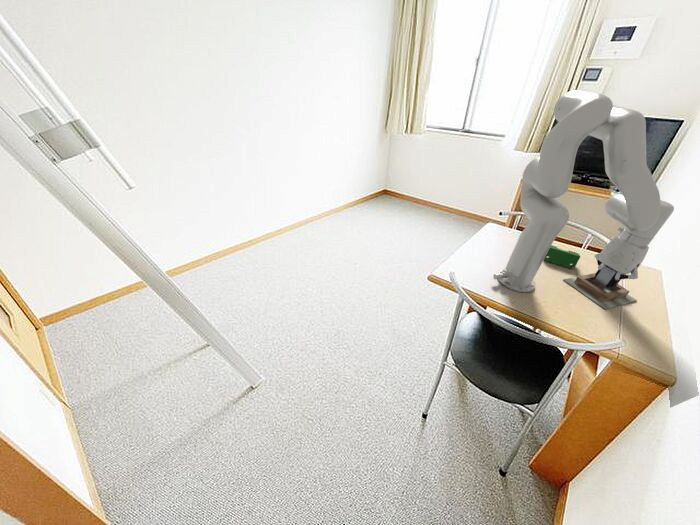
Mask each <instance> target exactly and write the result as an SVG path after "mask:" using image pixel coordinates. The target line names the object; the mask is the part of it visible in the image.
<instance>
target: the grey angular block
mask: <svg viewBox="0 0 700 525" xmlns="http://www.w3.org/2000/svg"><path fill="white" fill-rule="evenodd" d="M616 274H617V271H615V270H614V269H612V268H610V267H608V266H607V265H604V267H603V268H602V270H601V271H600V272H599V274H598V275H597V277H596V278H595V280H594V281H593V283H592V284H593V285H595V286H596V287H598V288H599V289H601V290H602V291H603V290H607V289H611V287H610V288H607V285H608V284H609V282H610V281H611V279H612V278H615V276H616Z"/></svg>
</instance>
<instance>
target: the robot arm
mask: <svg viewBox="0 0 700 525" xmlns="http://www.w3.org/2000/svg"><path fill="white" fill-rule="evenodd" d="M553 116H554V119H555V120H556V121H557V123H556V124H555V125H554V126H553V127H552V128H551V130H549V131H548V133H547V134H546V136H545V138H544V139H543V142H542V145H541V148H540V153H539V156H537V157H536V158H534V159H532V160H531V161H529V163H528V164H527V165H526V166H525V168H524V170H523V173H522V177H521V185H520V186H521V188H520V196H519V197H520V199H519V203H520V204H519V205H520V209H521V211H522V213H523V214H524V215H525V216H526V217H527V219H528V220H529V223H528V225H527V226H526V227H525V228H524V229H523V230H522V231H521V233H520V235H519V236H518V239H517V242H516V243H515V245H514V248H513V250H512V252H511V255H510V256H509V259H508V261H507V264H506V266H505V268H503V269H501V270H499V271H498V272H497V273H495V274H493V277H492V278H493V279H494V280H498V281H499V282H500V284H502V285H503V286H504V287H505V288H508V289H509V290H512V291H515V292H518V293H519V292H520V293H530V292H533V291H534V289H535V288H536V281H535V280H534V279H535V277H536V275H537V273H538V271H539V270H540V268H541V266H542V264H543V262H544V261H545V260H544V258H545V256H546V254H547V252H548V250H549V248H550V247H551V245H552V246H553V243H554V241H555V240H556V238H557V236H558V235H559V234H560V233H561V231H562V230H563V229H564V228H565V227H566V226H567V225H568V224H567V223H568V222H569V218H570V212H569V210H568V208H567V206H566V205H565V204H564V203H563V202H562V201H561V200H560V199H558V198H560V197H562V196H563V195H565V194H566V193H567V192H568V190H569V188H570V186H571V182H572V179H573V172H574V166H575V163H576V157H577V156H576V155H577V152H578V149H579V147H580V145H581V144H582V142H583V141H584V140H585V139H586V138H587V137H588V136H590V137H593V138H596V139H597V140H598V139H599V140H601V141H602V146H603V155H604V171H605V174H606V175H607V177H608V178H609V180H610V182H611V183H612V184H613V185H614V186H615V187H616V189H617V190H618V191H619V193H621V194H617V195H614V196H611V197H610V198H608V199H607V201H606V202H605V204H604V210H605V212H606V214H607V215H608V216H609V217H611V218H612V219H614V220H615V221H616V222H618V223H620V224H621V225H622V226H623V227H619V228H618V229H617V231H618V232H620V233H619V234H617V235H615V236H613V238H612V239H611V240H610V241H609V242H608V243H607V244H606V245H605V247H603V249H602V250H601V252H598V253H597V254H594V258H595V260H596V261H597V266H598V267H597V271H596V272H595V273H596V274H595V277H594V279H595V278H596V277H597V275H598V274H599V272H600V271H601V270H602V268H603V267H604V265H607V266H608V267H610V268H612V269H614V270H615V271H617V274H616V276H615V278H612V279H611V281H610V282H609V284H608V285H607V288H610V287H615V286H616V285H617V284H618V285H619V282H620V281H622V280H637V279H638V278H639V275H638V274H639V273H638V270H639V267H640V266H642V265H641V264H642V263H643V261H644V260H645V259H646V256H647V254H648V252H649V248H650V247H649V245H650V244H651V242H652V240H654V238H655V236H656V235H657V234H658V233H659V231H660V230H661V228H662V227H663V226H664V224H665V223H666V222H667V221H668V219H670V218H669V217H671V215H672V214H673V212H674V211H675V210H674V209H675V207H674V205H673V204H671V203H669V202H667V201H665V200H662V199H661V194H660V191H659V188H658V185H657V183H656V181H655V179H654V177H653V174H652V173H651V171H650V168H649V167H648V165H647V122H646V117H645V116H644V114H643V113H641V112H640V111H638V110H634V109H630V108H625V107H621V106H617V105H613V101H612V99H611V98H610V97H608V96H606V95H604V94H603V93H598V92H592V91H585V90H578V89H577V90H571V91H568V92H565V93H564V94H563V95H561V96H560V97H559V98H558V100H557V101H556V102H555V105H554V107H553Z"/></svg>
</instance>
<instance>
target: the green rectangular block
mask: <svg viewBox="0 0 700 525" xmlns="http://www.w3.org/2000/svg"><path fill="white" fill-rule="evenodd" d="M580 258H581V255H580V254H579V252H575V251H571V250H565V249H564V250H563V249H561V248H558V247H557V246H555V245H553V244H552V245H551V247H550V248H549V250H548V252H547V254H546V256H545V258H544V260H543V261H546V262H548V263H552V264H555V265H557V266H562V267H565V268H567V269H571V270H572V269H574V268H576V266H577V264H578V262H579V260H580Z"/></svg>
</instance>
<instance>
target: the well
mask: <svg viewBox="0 0 700 525" xmlns="http://www.w3.org/2000/svg"><path fill="white" fill-rule="evenodd" d="M595 274H596V272H594V273H593V272H592V273H587V274H582V275H579V276H573V277H568V278H564V279H563V282H565V283H566V284H567V285H569V286H571V287H572V288H573V287H574V288H573V289H574V290H576V289H577V290H578V291H577V290H576V291H577V292H578V293H580V294H582V295H583V296H585V297H586V298H587V299H589V300H590V301H591V302H593V303H594V304H596V305H598V306H599V307H600V308H602V309H604V310H608V309H613V308H615V307H619V306H623V305H628V304H631V303H635V302H637V301H638V299H636V298H634V297H633V296H631V295H630V294H629V293H630V290H628V289H626V288H625V287H624V286H622V285H620V284H619V283H618V284H617V285H616V286H615V287H611V289H607V290H603V291H602V290H601V289H599V288H598V287H596V286H595V285H593V284H592V283H593V281H594V280H595V279H594V277H595Z"/></svg>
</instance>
